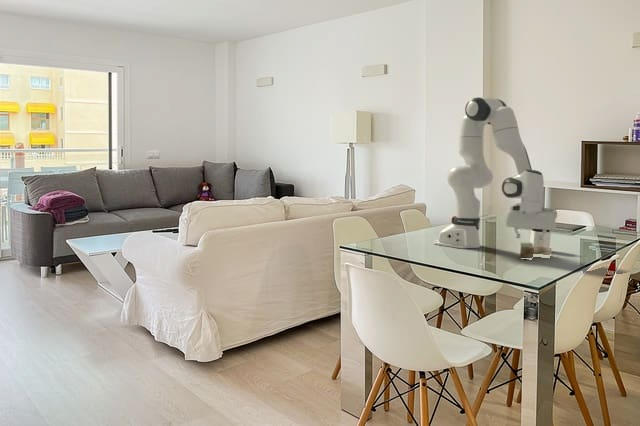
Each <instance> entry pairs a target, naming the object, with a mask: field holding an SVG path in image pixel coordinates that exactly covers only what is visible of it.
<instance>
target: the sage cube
mask: <svg viewBox="0 0 640 426" xmlns="http://www.w3.org/2000/svg"><path fill="white" fill-rule="evenodd" d="M518 245H519V246H518V252H519V251H521V247H530V248H532V247H533V244H532V243H531V242H530V241H519V244H518Z"/></svg>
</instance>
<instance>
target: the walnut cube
mask: <svg viewBox="0 0 640 426" xmlns="http://www.w3.org/2000/svg"><path fill="white" fill-rule="evenodd" d="M533 254H534V248H530V247H521V251H520V253H519V259H520V258H532V257H533ZM533 258H534V257H533Z"/></svg>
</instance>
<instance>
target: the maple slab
mask: <svg viewBox="0 0 640 426" xmlns="http://www.w3.org/2000/svg"><path fill="white" fill-rule="evenodd" d="M532 248H534V254H543V255H550V254H551V255H552V249H553V248H552V247H550V248H546V247H536V246H533V247H532Z"/></svg>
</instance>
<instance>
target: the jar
mask: <svg viewBox="0 0 640 426" xmlns="http://www.w3.org/2000/svg"><path fill="white" fill-rule="evenodd" d="M543 233H544V232H543V229H531V230H530V235H529V237H530V239H529V242H531V243H532V244H533V246H536V247H546V248H549V247H550V245H551V233H552V231H551V230H547V231H546V233H545V234H544V236H543V240H539V238H540V235H542V234H543ZM550 248H551V247H550Z"/></svg>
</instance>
